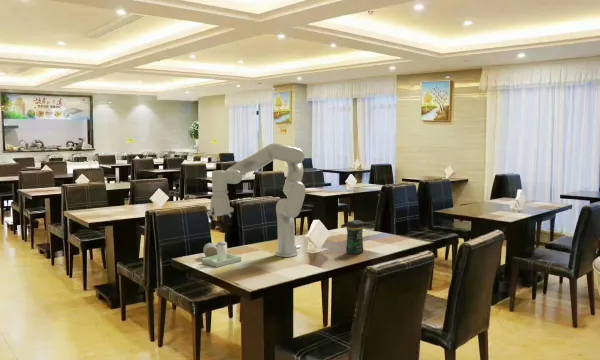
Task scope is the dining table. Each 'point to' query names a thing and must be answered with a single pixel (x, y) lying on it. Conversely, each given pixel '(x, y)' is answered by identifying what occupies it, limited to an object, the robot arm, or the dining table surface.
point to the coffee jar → (354, 237)
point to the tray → (213, 261)
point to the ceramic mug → (210, 250)
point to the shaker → (221, 251)
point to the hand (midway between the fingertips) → (221, 225)
